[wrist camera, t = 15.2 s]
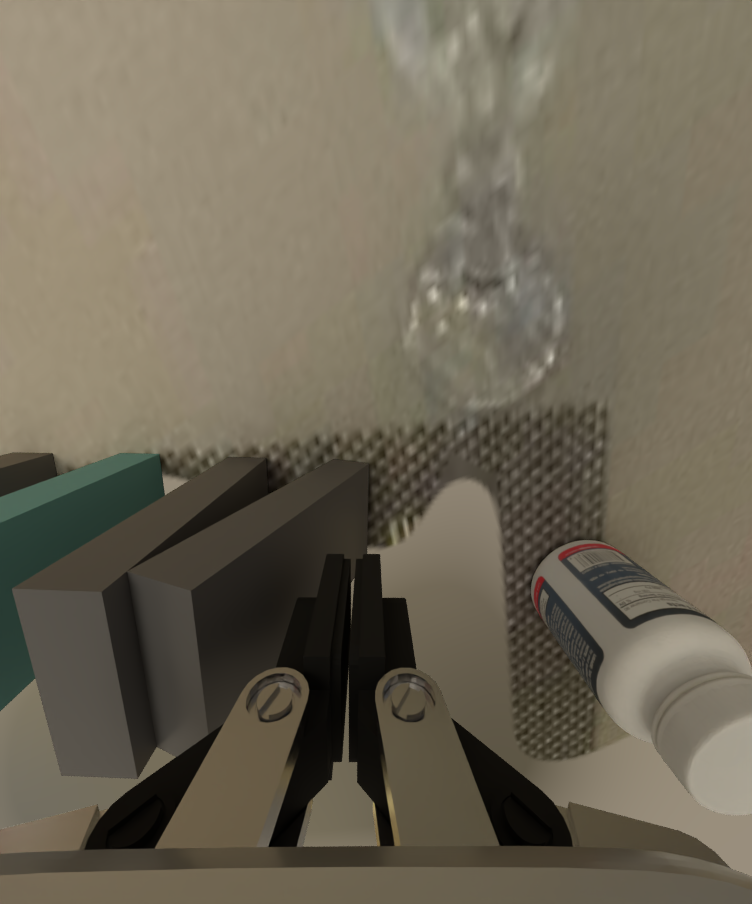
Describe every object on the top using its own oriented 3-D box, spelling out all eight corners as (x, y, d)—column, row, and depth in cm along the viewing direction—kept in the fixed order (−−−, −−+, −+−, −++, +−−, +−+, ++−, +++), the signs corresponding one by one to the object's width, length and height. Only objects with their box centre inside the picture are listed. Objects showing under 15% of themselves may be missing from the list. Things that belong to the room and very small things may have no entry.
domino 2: (266, 458, 17) (101, 591, 7) (271, 552, 18) (137, 778, 8) (228, 456, 17) (11, 588, 7) (236, 551, 18) (61, 775, 8)
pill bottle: (579, 639, 20) (744, 857, 11) (508, 593, 19) (624, 789, 10) (648, 569, 18) (889, 749, 10) (575, 518, 18) (769, 666, 9)
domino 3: (368, 463, 16) (190, 591, 7) (366, 560, 17) (212, 775, 8) (333, 459, 17) (126, 571, 8) (334, 553, 18) (157, 746, 9)
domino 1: (159, 454, 17) (-140, 583, 7) (172, 549, 18) (-66, 773, 8) (120, 453, 17) (-235, 581, 7) (136, 548, 18) (-146, 773, 8)
